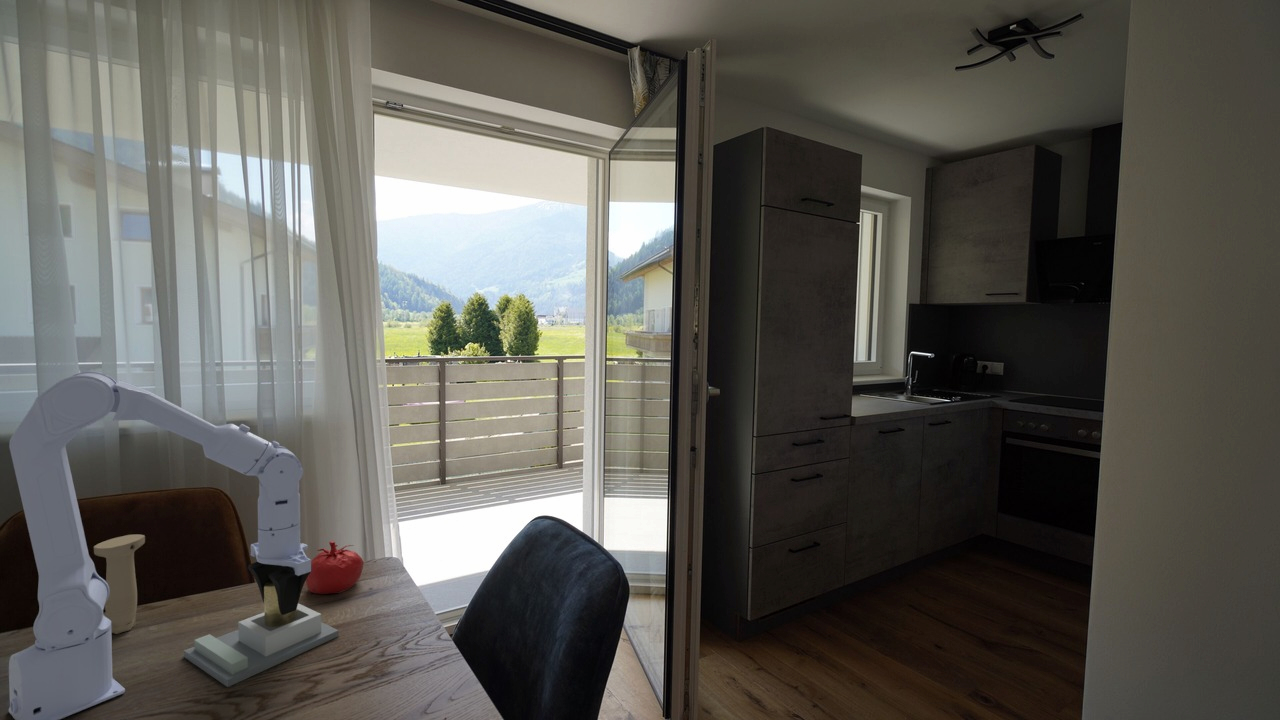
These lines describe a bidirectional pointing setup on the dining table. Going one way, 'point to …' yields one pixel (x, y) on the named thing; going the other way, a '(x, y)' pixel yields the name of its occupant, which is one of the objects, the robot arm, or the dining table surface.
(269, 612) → the brass cylinder
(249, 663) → the jig
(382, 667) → the dining table surface
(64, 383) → the robot arm
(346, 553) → the red tomato
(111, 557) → the handle
